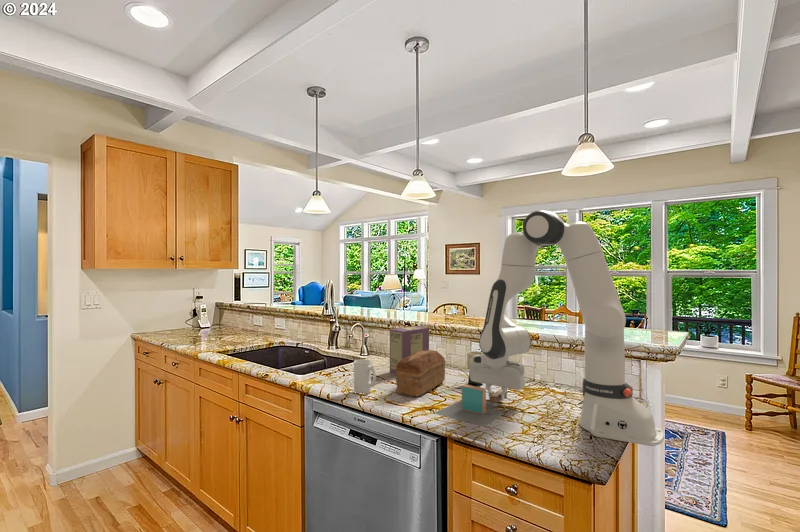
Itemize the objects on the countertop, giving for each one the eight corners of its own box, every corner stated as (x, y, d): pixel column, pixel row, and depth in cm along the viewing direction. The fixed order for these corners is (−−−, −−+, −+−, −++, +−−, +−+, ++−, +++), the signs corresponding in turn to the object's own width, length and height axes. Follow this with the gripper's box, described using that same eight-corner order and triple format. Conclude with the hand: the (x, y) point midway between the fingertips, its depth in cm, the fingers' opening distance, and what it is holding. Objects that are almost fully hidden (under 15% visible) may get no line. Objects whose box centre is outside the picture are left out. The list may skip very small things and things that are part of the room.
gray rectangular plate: (505, 414, 137) (505, 412, 137) (483, 428, 125) (483, 426, 125) (458, 403, 148) (458, 401, 148) (434, 414, 136) (434, 413, 136)
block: (485, 412, 137) (485, 388, 137) (482, 414, 135) (482, 390, 135) (464, 407, 142) (464, 384, 142) (461, 409, 140) (461, 385, 140)
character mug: (478, 388, 166) (478, 356, 166) (462, 385, 170) (462, 353, 170) (489, 382, 175) (489, 351, 175) (473, 379, 179) (473, 349, 179)
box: (403, 376, 184) (403, 331, 184) (389, 372, 191) (389, 329, 191) (428, 370, 195) (429, 327, 195) (415, 366, 202) (415, 325, 202)
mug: (350, 392, 160) (350, 361, 160) (361, 388, 165) (361, 358, 166) (369, 397, 154) (369, 365, 154) (381, 393, 159) (381, 362, 159)
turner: (496, 396, 156) (496, 388, 156) (511, 400, 152) (511, 391, 152) (476, 407, 144) (476, 398, 144) (492, 411, 140) (492, 402, 140)
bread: (390, 395, 157) (390, 357, 157) (423, 378, 182) (423, 345, 182) (418, 400, 151) (419, 361, 151) (449, 382, 176) (449, 348, 176)
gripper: (527, 361, 145) (527, 401, 145) (475, 354, 158) (475, 390, 158) (520, 365, 140) (520, 405, 140) (467, 356, 153) (467, 394, 153)
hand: (496, 397), depth 149 cm, fingers open, 3 cm apart
